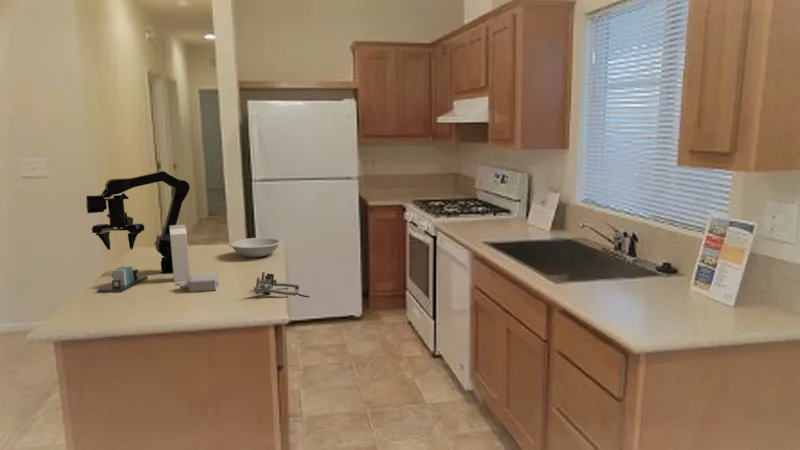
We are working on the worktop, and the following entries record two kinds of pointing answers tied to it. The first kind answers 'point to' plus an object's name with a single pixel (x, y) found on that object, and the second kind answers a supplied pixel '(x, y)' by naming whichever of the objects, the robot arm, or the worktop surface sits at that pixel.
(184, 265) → the milk
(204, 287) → the charger
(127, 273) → the block
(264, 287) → the bike brake
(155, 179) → the robot arm
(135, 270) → the shaft stand
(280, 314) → the worktop surface
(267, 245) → the soup bowl
